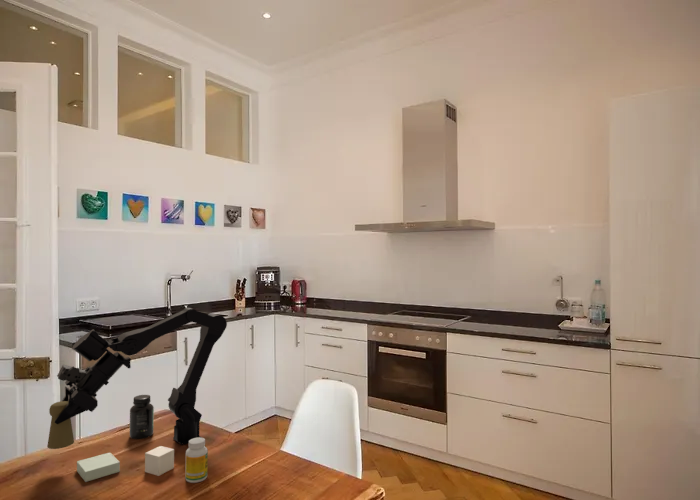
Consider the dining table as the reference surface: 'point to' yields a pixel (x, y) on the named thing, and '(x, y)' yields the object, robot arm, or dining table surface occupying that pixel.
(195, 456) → the supplement bottle
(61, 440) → the cork
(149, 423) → the supplement bottle
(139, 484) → the dining table surface
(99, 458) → the base brick
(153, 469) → the brick
